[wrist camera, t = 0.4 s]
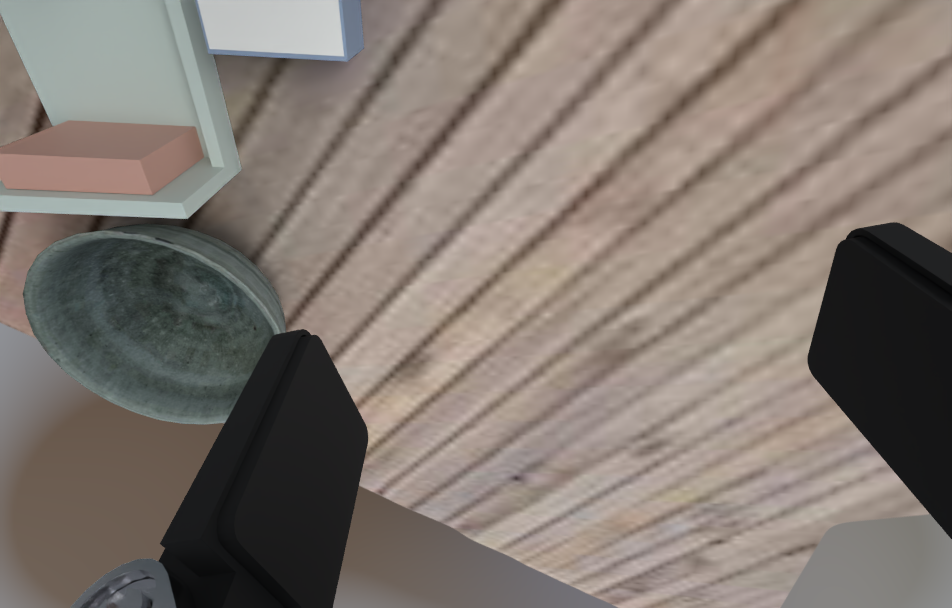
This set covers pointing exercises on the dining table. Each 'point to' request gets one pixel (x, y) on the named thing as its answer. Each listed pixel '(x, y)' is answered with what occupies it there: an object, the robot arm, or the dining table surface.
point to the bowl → (154, 318)
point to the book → (283, 28)
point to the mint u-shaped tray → (117, 110)
